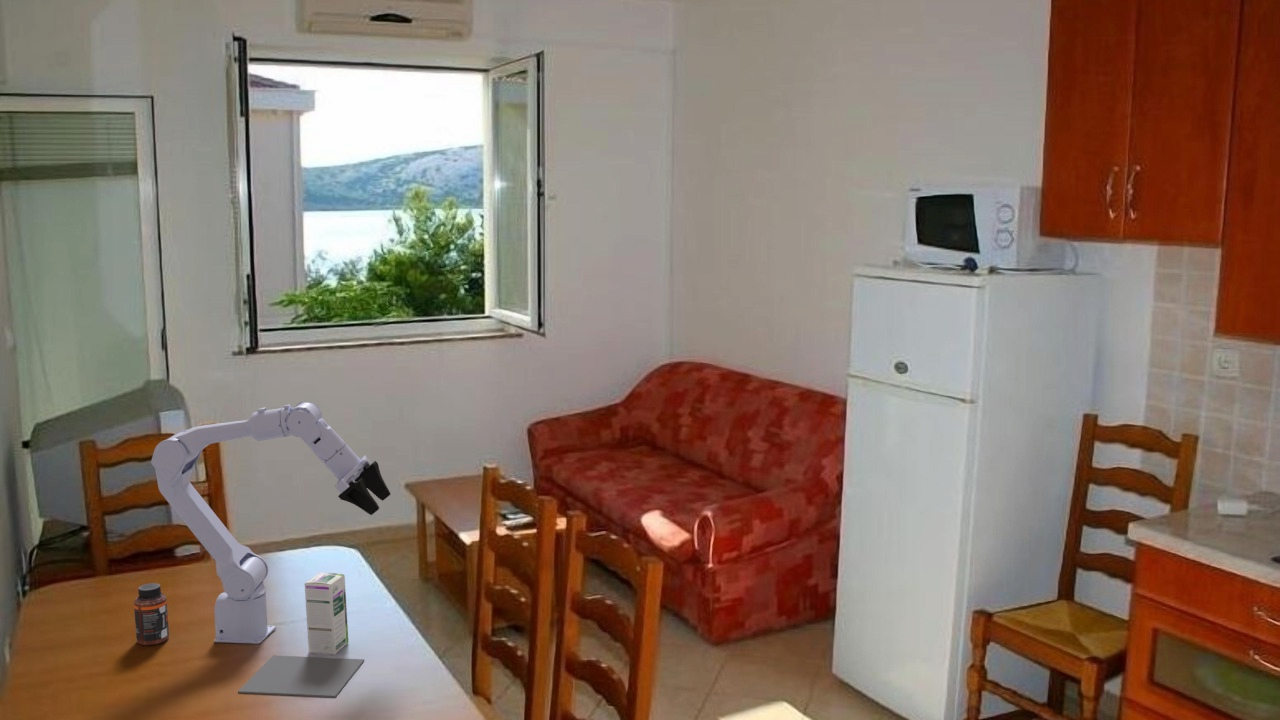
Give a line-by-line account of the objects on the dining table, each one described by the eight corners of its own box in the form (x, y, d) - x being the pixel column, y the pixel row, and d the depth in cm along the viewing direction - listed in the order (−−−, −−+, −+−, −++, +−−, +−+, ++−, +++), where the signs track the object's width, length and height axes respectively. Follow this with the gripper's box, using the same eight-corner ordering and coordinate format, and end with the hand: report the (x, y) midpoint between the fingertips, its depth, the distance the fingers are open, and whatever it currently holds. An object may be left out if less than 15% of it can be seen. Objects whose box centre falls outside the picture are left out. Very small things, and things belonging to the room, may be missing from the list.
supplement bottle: (174, 640, 213) (171, 586, 211) (144, 649, 209) (140, 594, 207) (161, 631, 217) (158, 578, 215) (131, 640, 213) (127, 586, 211)
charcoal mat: (237, 692, 191) (237, 691, 191) (273, 656, 206) (273, 655, 206) (335, 697, 189) (335, 695, 189) (364, 660, 204) (364, 659, 204)
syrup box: (335, 655, 206) (332, 584, 204) (307, 652, 208) (303, 581, 205) (348, 643, 212) (346, 573, 210) (321, 640, 213) (318, 571, 211)
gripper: (337, 453, 202) (385, 506, 204) (361, 430, 216) (405, 480, 218) (310, 475, 204) (358, 527, 206) (336, 450, 218) (380, 499, 220)
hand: (381, 504), depth 212 cm, fingers open, 7 cm apart
